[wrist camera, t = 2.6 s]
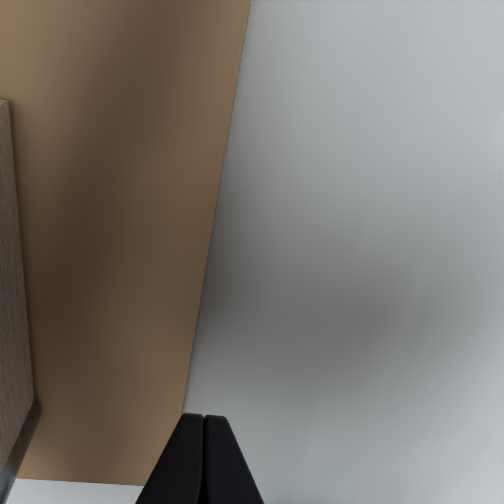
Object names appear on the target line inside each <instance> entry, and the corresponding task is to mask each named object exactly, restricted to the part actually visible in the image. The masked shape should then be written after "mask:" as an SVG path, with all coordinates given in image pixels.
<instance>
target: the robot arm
mask: <svg viewBox="0 0 504 504" xmlns="http://www.w3.org/2000/svg"><path fill="white" fill-rule="evenodd" d="M135 504H264V502H263V500H262V497H261V495H260V493H259V490H258V488H257V486H256V484H255V481H254V479H253V477H252V474H251V472H250V470H249V468H248V465H247V463H246V461H245V458H244V456H243V454H242V452H241V449H240V447H239V445H238V443H237V440H236V438H235V436H234V433H233V431H232V429H231V427H230V424H229V422H228V420H227V419H226V417H224V416H216V415H206V416H205V417H203V415H201V414H193V413H184V414H182V415H181V417H180V419H179V421H178V423H177V425H176V427H175V428H174V430H173V432H172V434H171V436H170V438H169V440H168V442H167V444H166V446H165V448H164V450H163V451H162V453H161V455H160V457H159V459H158V461H157V463H156V465H155V467H154V469H153V471H152V472H151V474H150V476H149V478H148V480H147V482H146V484H145V486H144V488H143V490H142V492H141V494H140V495H139V497H138V499H137V501H136V503H135Z"/></svg>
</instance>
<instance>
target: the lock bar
mask: <svg viewBox="0 0 504 504" xmlns="http://www.w3.org/2000/svg"><path fill="white" fill-rule="evenodd" d="M40 417H41V412H40V408H39V406H38V404H37V402H36V401H35V400H34V392H33V380H32V369H31V357H30V345H29V334H28V322H27V311H26V299H25V287H24V276H23V264H22V253H21V241H20V230H19V218H18V206H17V195H16V183H15V172H14V160H13V149H12V137H11V125H10V114H9V102H8V101H7V100H2V99H0V504H6V501H7V499H8V496H9V494H10V491H11V489H12V487H13V484H14V482H15V479H16V477H17V474H18V472H19V469H20V467H21V465H22V462H23V460H24V457H25V455H26V452H27V450H28V447H29V445H30V443H31V440H32V438H33V435H34V433H35V430H36V428H37V425H38V423H39V421H40Z"/></svg>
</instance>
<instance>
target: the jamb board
mask: <svg viewBox="0 0 504 504" xmlns="http://www.w3.org/2000/svg"><path fill="white" fill-rule="evenodd" d="M249 6H250V0H0V99H2V100H7V101H8V102H9V114H10V125H11V137H12V149H13V160H14V172H15V183H16V195H17V206H18V218H19V230H20V241H21V253H22V264H23V276H24V287H25V299H26V311H27V322H28V334H29V345H30V357H31V369H32V380H33V392H34V400H35V401H36V402H37V404H38V406H39V408H40V412H41V417H40V421H39V423H38V425H37V428H36V430H35V433H34V435H33V438H32V440H31V443H30V445H29V447H28V450H27V452H26V455H25V457H24V460H23V462H22V465H21V467H20V469H19V472H18V474H17V477H16V478H20V479H37V480H54V481H70V482H87V483H104V484H120V485H137V486H145V484H146V482H147V480H148V478H149V476H150V474H151V472H152V471H153V469H154V467H155V465H156V463H157V461H158V459H159V457H160V455H161V453H162V451H163V450H164V448H165V446H166V444H167V442H168V440H169V438H170V436H171V434H172V432H173V430H174V428H175V427H176V425H177V423H178V421H179V419H180V417H181V414H182V408H183V402H184V396H185V390H186V384H187V378H188V372H189V366H190V360H191V354H192V348H193V342H194V336H195V330H196V324H197V318H198V312H199V306H200V300H201V294H202V288H203V282H204V276H205V270H206V264H207V258H208V252H209V246H210V240H211V234H212V228H213V222H214V216H215V210H216V204H217V198H218V192H219V186H220V180H221V174H222V168H223V162H224V156H225V150H226V144H227V138H228V132H229V126H230V120H231V114H232V108H233V102H234V96H235V90H236V84H237V78H238V72H239V66H240V60H241V54H242V48H243V42H244V36H245V30H246V24H247V18H248V12H249Z"/></svg>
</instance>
